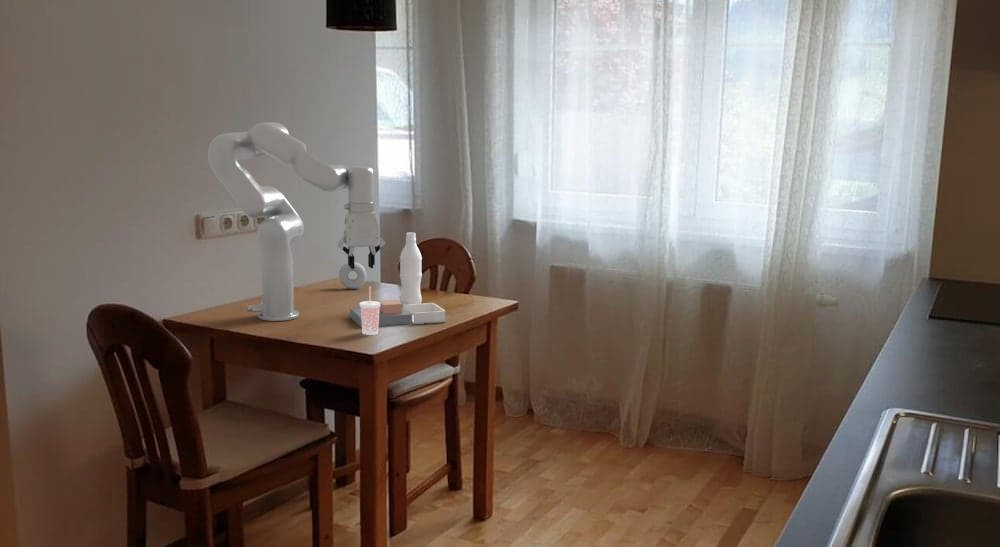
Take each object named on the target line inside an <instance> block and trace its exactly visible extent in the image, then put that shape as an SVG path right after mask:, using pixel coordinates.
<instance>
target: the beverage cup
mask: <svg viewBox="0 0 1000 547" xmlns="http://www.w3.org/2000/svg"><path fill="white" fill-rule="evenodd" d="M368 288H369V289H368V294H369V296H368V297H369V300H365V301H364V300H363V301H361V302H359V307H361V320H362V328H361V330H362V331H361V332H362V335H365V334H366V335H365V336H374V335H375V336H376V335H378V334H379V326H378V325H379V309H380V305H381V303H380V302H378V300H377V301H375V300H372V286H371V285H370V286H368Z"/></svg>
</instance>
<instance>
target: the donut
mask: <svg viewBox="0 0 1000 547" xmlns="http://www.w3.org/2000/svg"><path fill="white" fill-rule="evenodd" d="M350 272H355V273H356V274H357V275H356V278H355V279H351V278H350V277H349V273H350ZM367 277H368V274H367V271H366V269H365V267H364V266H363V265H362V264H360V263H359V262H356V261H354V269H351V268H350V266H348V262H346V263H343V265H342V266H341V267H340V269H339V270H338V279H339V281H340V284H341V285H342V286H344V287H345V288H347V289H349V290H357V289H359V288H360V287H362V286H363V285H364V284H365V283H366V281H367Z"/></svg>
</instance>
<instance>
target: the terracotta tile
mask: <svg viewBox="0 0 1000 547" xmlns="http://www.w3.org/2000/svg"><path fill="white" fill-rule="evenodd" d="M377 302H380V303H381V305H380V309H379V311H380V312H381V313H382V314H383V315H386V314H400V313H402V303H401V302H400V300H398V299H390V300H389V299H385V300H377Z"/></svg>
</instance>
